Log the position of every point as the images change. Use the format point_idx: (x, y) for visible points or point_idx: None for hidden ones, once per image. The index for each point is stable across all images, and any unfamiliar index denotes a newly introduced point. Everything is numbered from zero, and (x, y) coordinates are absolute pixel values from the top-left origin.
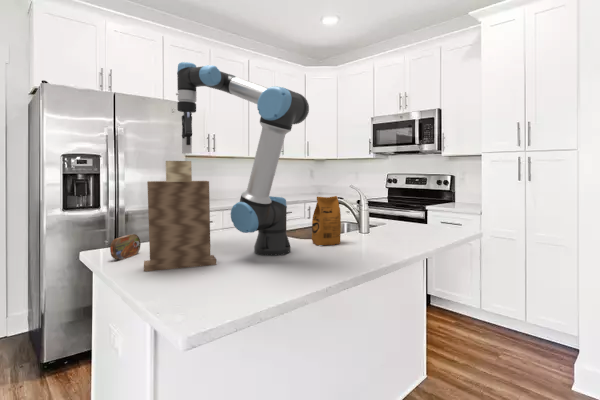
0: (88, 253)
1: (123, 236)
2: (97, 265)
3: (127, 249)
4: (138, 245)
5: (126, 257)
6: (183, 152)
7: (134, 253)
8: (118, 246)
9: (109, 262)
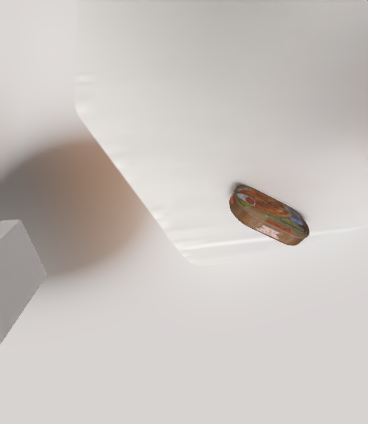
0: (208, 262)
1: (267, 232)
2: (318, 238)
3: (272, 209)
4: (239, 193)
5: (278, 202)
6: (36, 272)
7: (252, 192)
8: (297, 228)
9: None
